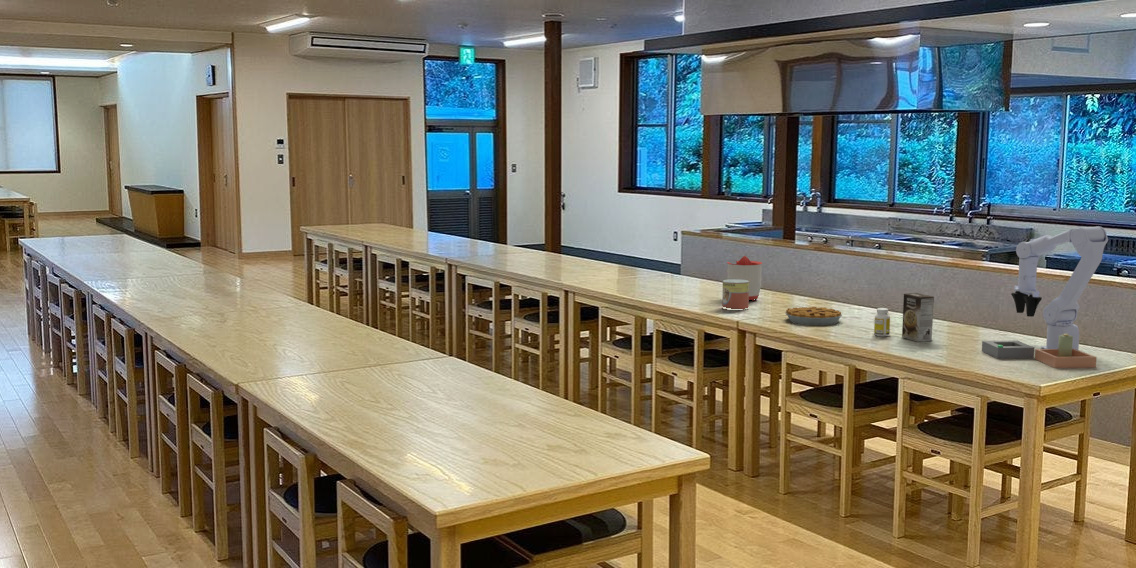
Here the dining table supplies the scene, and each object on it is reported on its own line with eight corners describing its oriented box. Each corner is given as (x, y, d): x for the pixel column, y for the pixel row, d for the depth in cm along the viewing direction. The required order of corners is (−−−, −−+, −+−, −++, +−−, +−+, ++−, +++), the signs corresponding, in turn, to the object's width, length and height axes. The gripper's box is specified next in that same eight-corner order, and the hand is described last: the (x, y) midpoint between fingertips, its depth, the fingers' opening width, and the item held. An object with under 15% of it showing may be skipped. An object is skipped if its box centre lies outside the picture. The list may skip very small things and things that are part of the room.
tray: (1074, 358, 328) (1074, 348, 327) (1095, 367, 315) (1096, 357, 315) (1034, 359, 328) (1035, 349, 327) (1054, 367, 315) (1055, 357, 314)
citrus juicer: (739, 295, 468) (739, 252, 465) (768, 299, 455) (769, 255, 452) (716, 299, 458) (717, 255, 455) (746, 303, 445) (747, 258, 442)
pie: (793, 326, 389) (793, 314, 388) (779, 317, 411) (779, 305, 410) (849, 326, 390) (849, 313, 389) (832, 316, 412) (832, 304, 411)
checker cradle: (1016, 350, 341) (1017, 338, 340) (1033, 358, 329) (1034, 345, 329) (981, 351, 341) (982, 339, 340) (997, 358, 329) (998, 346, 328)
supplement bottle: (886, 333, 373) (887, 307, 371) (891, 336, 367) (892, 310, 366) (871, 333, 372) (872, 307, 371) (876, 336, 367) (877, 310, 366)
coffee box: (901, 337, 365) (902, 293, 363) (915, 336, 368) (917, 292, 365) (918, 342, 357) (919, 296, 355) (932, 340, 359) (934, 295, 357)
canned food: (716, 307, 434) (717, 280, 432) (738, 305, 439) (739, 278, 437) (731, 311, 424) (732, 283, 422) (754, 309, 429) (754, 281, 427)
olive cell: (1067, 359, 323) (1069, 332, 322) (1073, 362, 319) (1075, 335, 318) (1055, 359, 323) (1056, 333, 322) (1061, 362, 319) (1062, 335, 318)
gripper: (1006, 273, 359) (1004, 311, 361) (1025, 278, 345) (1023, 318, 346) (1026, 273, 359) (1024, 311, 361) (1046, 278, 345) (1044, 317, 347)
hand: (1025, 314), depth 354 cm, fingers open, 7 cm apart
